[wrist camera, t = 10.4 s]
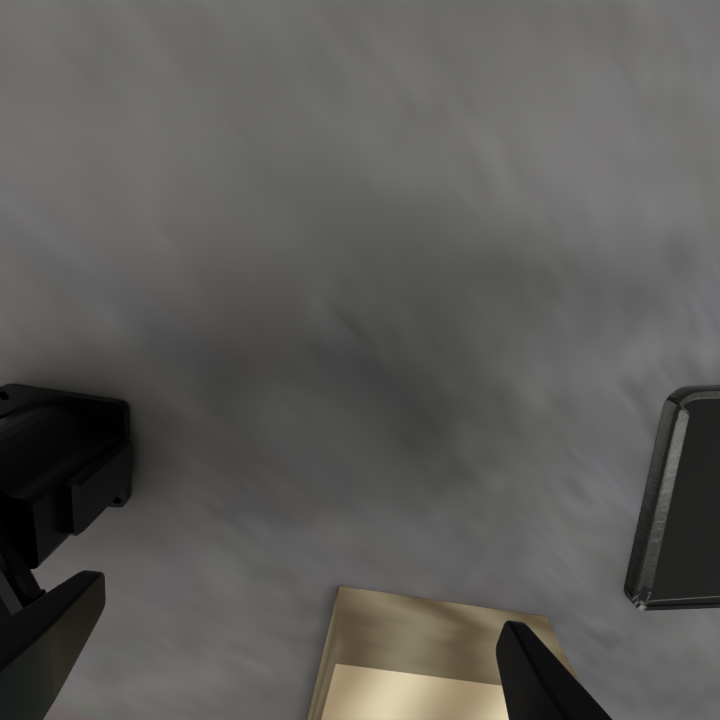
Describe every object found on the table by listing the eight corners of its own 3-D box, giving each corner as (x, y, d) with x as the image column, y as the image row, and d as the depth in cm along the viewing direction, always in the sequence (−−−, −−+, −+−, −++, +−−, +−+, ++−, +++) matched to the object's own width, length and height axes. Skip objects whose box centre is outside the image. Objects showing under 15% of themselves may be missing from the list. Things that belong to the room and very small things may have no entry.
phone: (629, 611, 23) (679, 393, 19) (617, 595, 24) (662, 385, 20) (752, 606, 23) (830, 386, 19) (735, 590, 24) (805, 379, 20)
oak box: (304, 722, 28) (294, 820, 23) (339, 580, 24) (335, 663, 19) (481, 743, 29) (506, 842, 24) (542, 610, 25) (587, 697, 20)
